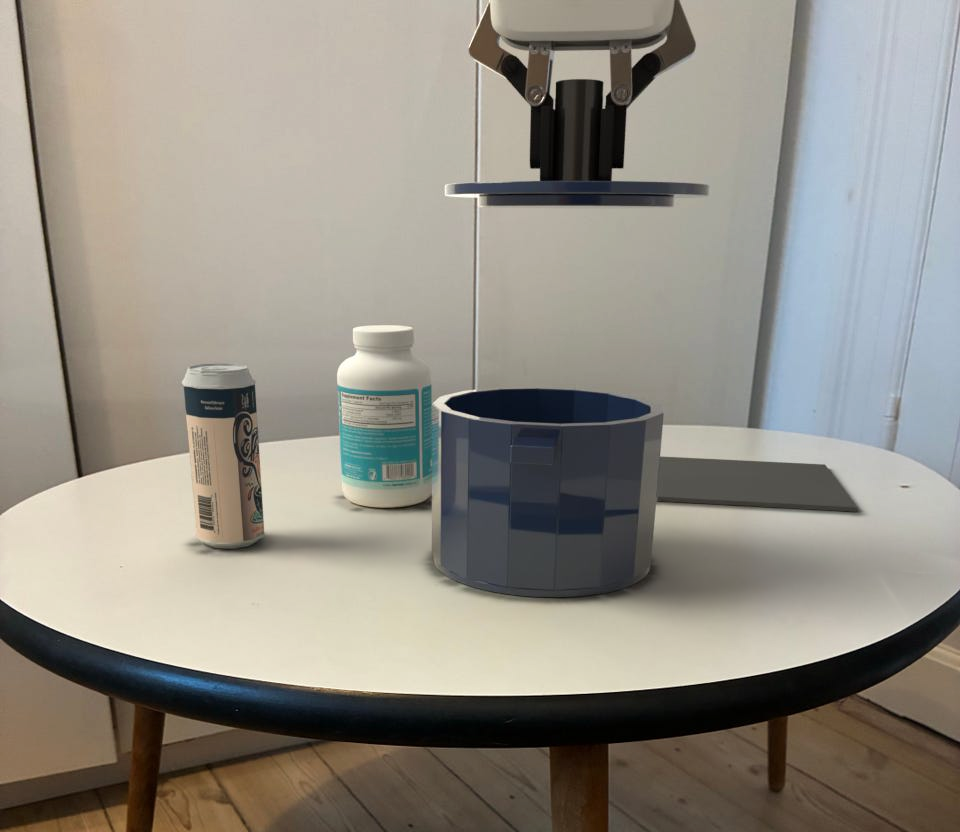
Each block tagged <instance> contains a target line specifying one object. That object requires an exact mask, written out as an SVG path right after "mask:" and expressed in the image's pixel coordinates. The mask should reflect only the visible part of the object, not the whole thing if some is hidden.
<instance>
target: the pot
mask: <svg viewBox="0 0 960 832" xmlns="http://www.w3.org/2000/svg"><path fill="white" fill-rule="evenodd" d="M664 414H665V412H664V406H663V405H662V404H660V403H658V402H654V401H652V400H650V399H647V398H644V397H640V396H635V395H630V394H625V393H619V392H614V391H607V390H606V391H605V390H596V389H587V388H574V387H573V388H572V387H551V386H550V387H549V386H545V387H544V386H509V387H506V386H504V387H489V388H479V389H469V390H461V391H458V392H453V393H449V394H445V395H441V396H439V397H438V398H437V399H435V400H434V401H432V493H431V554H432V556H433V562H434V565H435V567H436V568H437V569H438V571H439V572H440V573H442V574H443V575H444V576H446V577H447V578H449V579H451V580H453V581H455V582H458V583H460V584H463V585H466V586H469V587H473V588H474V589H475V588H476V589H479V590H483V591H487V592H493V593H498V594H504V595H512V596H520V597H531V598H532V597H534V598H573V597H584V596H594V595H600V594H601V595H602V594H607V593H611V592H616V591H619V590H622V589H626V588H629V587H631V586H633V585H635V584H637V583H639V582H640V581H643V579H644V578H646V577H647V575H648V573H649V572H650V568H651V566H652V557H653V556H652V555H653V544H654V531H655V519H656V509H657V508H656V507H657V487H658V475H659V463H660V456H661V450H662V440H663V439H662V438H663V427H664V417H665V415H664Z"/></svg>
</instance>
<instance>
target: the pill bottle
mask: <svg viewBox="0 0 960 832" xmlns="http://www.w3.org/2000/svg"><path fill="white" fill-rule="evenodd" d="M414 335H415V333H414V327H411V326H406V325H397V324H396V325H394V324H387V325H386V324H376V325H375V324H374V325H362V326H356V327H354V328H352V343H353V345H354V346H353V347H354V348H355V349H356V352H355V354H354V355H353V356H350V357H348V358H346V359H344V361H342V362H341V363H340V364H339V367H338V369H337V372H336V382H337V385H336V386H337V408H338V428H339V432H338V433H339V450H340V451H339V452H340V469H341V470H340V474H341V475H340V477H341V490H342V495H343V496H344V497H345V498H346V500H347V501H349V502H350V503H353V504H355V505H358V506H363V507H369V508H381V509H383V508H384V509H386V508H391V509H392V508H403V507H409V506H413V505H417V504H421V503H422V502H425V501H426V500H428V499H429V497H431V496H432V403H433V401H432V400H433V399H432V398H433V397H432V396H433V395H432V392H433V391H432V388H433V387H432V371H431V369H430V366H429V364H428V363H427V362H425V360H423V359H422V358H421V357H418V356H416V355H414V354H413V353H412V351H411V349H412V348H413V346H414V344H415V336H414Z"/></svg>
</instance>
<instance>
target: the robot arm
mask: <svg viewBox="0 0 960 832" xmlns="http://www.w3.org/2000/svg"><path fill="white" fill-rule="evenodd" d="M683 8H684V7H683V6H682V3H681V0H488V2H487V5H486V7H485V9H484V11H483V13H482V16H481V18H480V20H479V22H478V25H477V27H476V30H475V31H474V33H473V36H472V39H471V41H470V44H469V46H468V54H469V56H470V57H471V58H472V59H473V60H474V61H475V62H476V63H478V64H480V65H481V66H483V67H485V68H487V69H488V70H490V71H492V72H494V73H495V74H497V75H499V76H500V77H502V78H504V79H506V81H508V83H510V84H511V87H513V88H514V89H515V90H516V92H517V93H518V94H519V95H520V96H521V98H522V99H524V101H525V102H526V103H527V104H528V105H529V106H530V122H529V123H530V125H529V127H530V128H529V168H530V169H531V170H539V181H553V170H554V135H555V108H554V107H555V98H553V97H552V95H551V88H552V79H553V69H554V58H555V52H563V51H564V52H571V51H573V52H575V51H579V52H581V51H609V71H610V72H609V74H610V75H609V76H610V91H609V92H608V93H607V94H606V96H605V105H604V108H603V109H602V110H601V131H600V154H599V178H598V179H599V181H613V170H614V169H619V170H620V169H621V170H622V169H624V167H625V151H626V149H625V148H626V131H627V129H626V128H627V110H628V109H629V108H630V106H631V105H632V103H633V102H634V101H636V99H637V98H638V97H639V96H640V95H641V94H642V93H643V92H644V91H645V90H646V89H647V88H648V86H649V85H650V84H651V83H652V82H653V81H654V80H655V79H656V78H657V77H659V76H661V75H662V74H664V73H666V72H668V71H670V70H671V69H673V68H675V67H677V66H678V65H680V64H682V63H683V62H685V61H687V60H689V59H691V58H692V57H693V56H694V53H695V52H696V47H697V43H696V39H695V37H694V36H695V35H694V34H693V31H692V29H691V26H690V24H689V21H688V19H687V16H686V13H685V10H684V9H683ZM665 38H666V40H665V42H664V43H662V44H661V45H659V46H658V47H657V48H655V49H654V50H652V51H650V52H648V53H647V52H646V53H645V54H644V55H643V56H641V58H639V59H638V61H637V62H636V63H635V64H634V65H632V64H633V61H632V60H633V58H632V57H633V56H632V50H641V49H646V48H650V47H653V46H656V45H657V44H658V43H660V42H662V41H664V39H665ZM500 40H502V42H504V43H505V45H507V46H509V47H511V48H513V49H516V50H519V51H525V52H526V51H527V52H528V58H527V66H526V65H525V64H524V63H523V62H522V61H521V59H520V58H519V57H518V56H517V55H514V54H513V53H510V51H509V52H508V51H507V50H505V49H504V48H502V47H501V46H500Z"/></svg>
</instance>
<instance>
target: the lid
mask: <svg viewBox="0 0 960 832" xmlns="http://www.w3.org/2000/svg"><path fill="white" fill-rule="evenodd" d="M604 87H605V82H604V81H603V80H600V79H593V78H571V79H562V80H561V79H560V80H557V81H556V82H555V89H554V91H555V94H554V97H555V98H554V109H555V135H554V170H553V181H540V180H512V181H511V180H509V181H508V180H507V181H506V180H504V181H502V180H501V181H473V182H470V181H469V182H454V183H447V184H445V185H444V196H446V197H451V198H452V197H453V198H471V199H472V198H474V199H476V198H477V206H478V207H479V208H501V209H502V208H505V209H506V208H509V209H669V208H671V209H672V208H674V207H675V199H690V198H692V199H694V198H706V197H707V198H708V197H709V196H710V188H711V187H710V185H709V184H706V183H696V182H673V181H645V180H644V181H642V180H641V181H638V180H612V181H599V179H598V178H599V154H600V131H601V110H602V109H604V92H605V88H604Z"/></svg>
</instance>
